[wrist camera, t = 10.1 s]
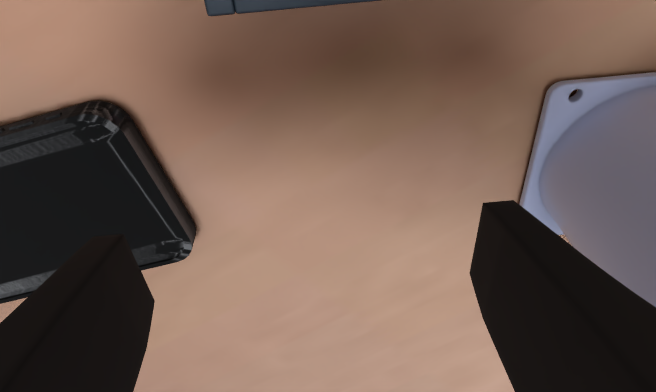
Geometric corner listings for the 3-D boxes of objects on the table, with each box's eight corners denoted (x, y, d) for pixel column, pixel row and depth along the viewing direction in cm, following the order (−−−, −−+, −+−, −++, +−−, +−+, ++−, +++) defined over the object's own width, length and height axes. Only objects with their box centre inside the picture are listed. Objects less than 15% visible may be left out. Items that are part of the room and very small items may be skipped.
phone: (200, 256, 20) (-85, 324, 22) (204, 239, 21) (-71, 305, 23) (105, 104, 16) (-250, 204, 17) (115, 90, 17) (-223, 187, 18)
